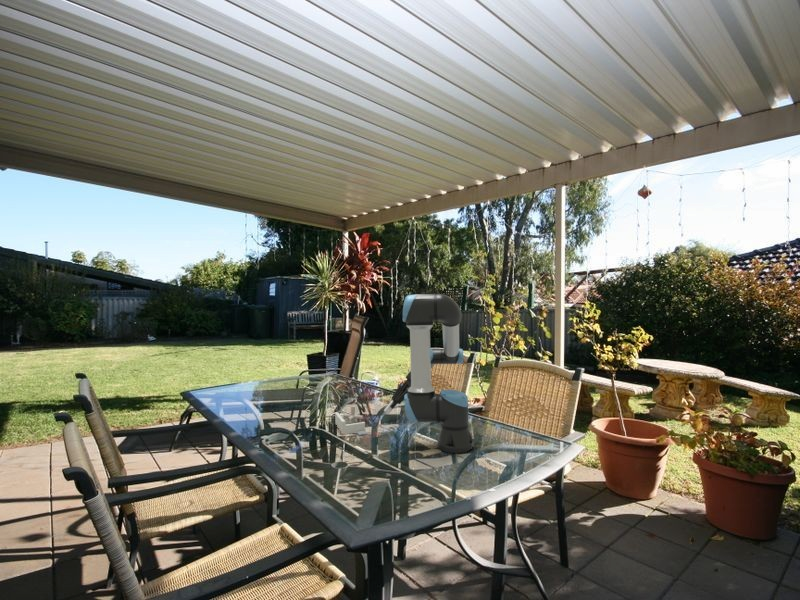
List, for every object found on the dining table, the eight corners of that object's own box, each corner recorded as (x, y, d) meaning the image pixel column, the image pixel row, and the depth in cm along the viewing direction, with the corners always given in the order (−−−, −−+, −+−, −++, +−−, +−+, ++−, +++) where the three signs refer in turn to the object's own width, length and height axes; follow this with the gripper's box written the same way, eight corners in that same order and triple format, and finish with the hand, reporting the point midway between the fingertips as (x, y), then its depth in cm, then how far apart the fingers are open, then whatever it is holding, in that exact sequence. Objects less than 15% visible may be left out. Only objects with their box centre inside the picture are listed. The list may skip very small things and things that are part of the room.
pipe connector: (358, 431, 202) (357, 410, 202) (339, 429, 206) (338, 408, 206) (367, 424, 212) (366, 404, 211) (349, 422, 215) (348, 403, 215)
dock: (368, 434, 197) (367, 421, 197) (345, 438, 194) (344, 425, 193) (354, 418, 222) (353, 407, 222) (333, 421, 218) (333, 409, 218)
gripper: (425, 383, 214) (395, 420, 209) (415, 378, 226) (387, 413, 221) (415, 373, 212) (385, 411, 207) (406, 369, 224) (377, 404, 219)
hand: (386, 412), depth 214 cm, fingers closed
